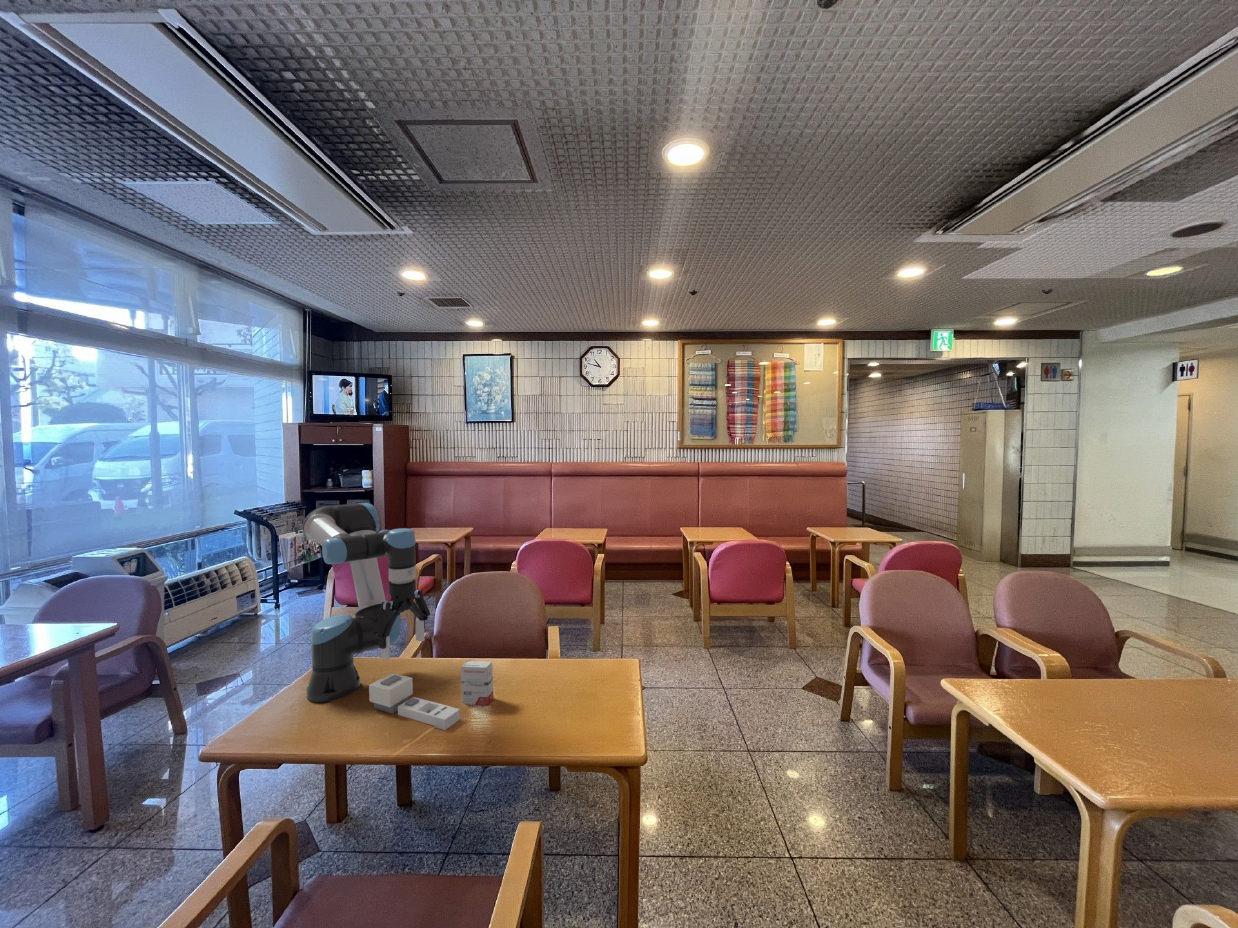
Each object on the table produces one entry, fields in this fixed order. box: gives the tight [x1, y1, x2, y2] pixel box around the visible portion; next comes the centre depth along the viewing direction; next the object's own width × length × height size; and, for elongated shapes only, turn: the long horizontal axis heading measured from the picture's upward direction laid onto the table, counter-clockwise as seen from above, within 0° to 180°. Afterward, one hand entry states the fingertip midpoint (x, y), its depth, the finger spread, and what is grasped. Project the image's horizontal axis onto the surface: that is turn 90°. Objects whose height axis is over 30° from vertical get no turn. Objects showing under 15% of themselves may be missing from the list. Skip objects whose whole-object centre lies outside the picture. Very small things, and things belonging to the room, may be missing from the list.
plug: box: [368, 672, 414, 707], centre depth 150 cm, size 8×8×8 cm
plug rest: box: [373, 696, 410, 714], centre depth 150 cm, size 8×6×3 cm
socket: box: [397, 696, 461, 731], centre depth 144 cm, size 18×6×4 cm, turn 66°
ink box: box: [460, 660, 494, 706], centre depth 153 cm, size 9×5×12 cm, turn 84°
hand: (403, 648), depth 151 cm, fingers open, 13 cm apart
